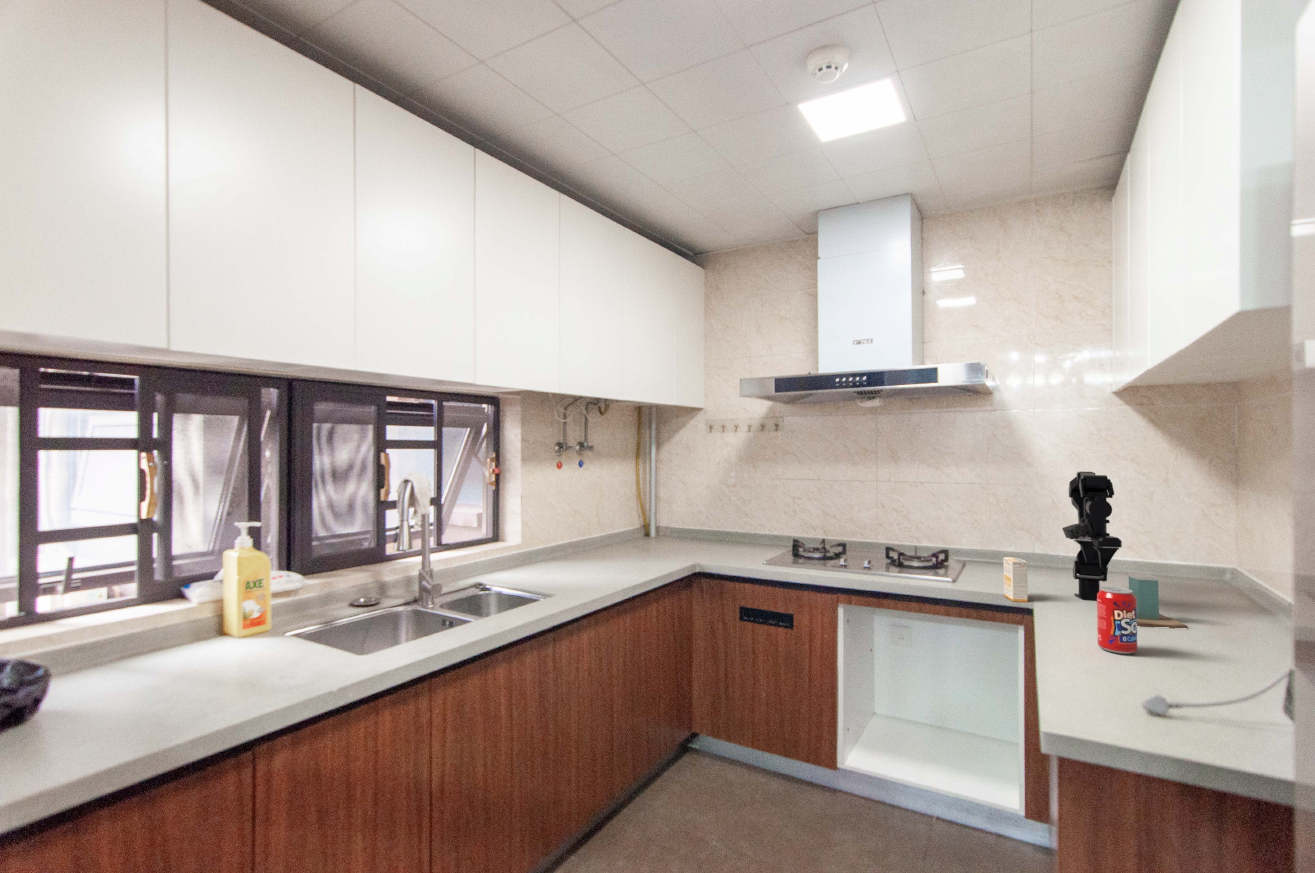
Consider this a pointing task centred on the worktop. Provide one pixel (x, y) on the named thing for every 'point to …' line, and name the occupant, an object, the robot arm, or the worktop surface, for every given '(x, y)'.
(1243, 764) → the worktop surface
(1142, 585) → the tea tin
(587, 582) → the worktop surface
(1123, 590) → the soda can
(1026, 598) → the supplement box
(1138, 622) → the walnut board
